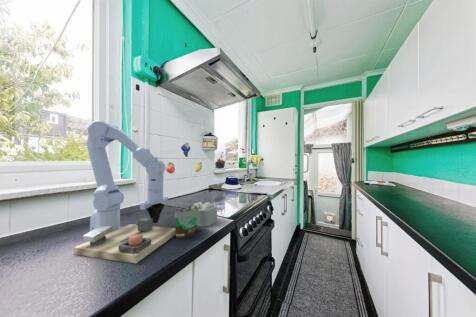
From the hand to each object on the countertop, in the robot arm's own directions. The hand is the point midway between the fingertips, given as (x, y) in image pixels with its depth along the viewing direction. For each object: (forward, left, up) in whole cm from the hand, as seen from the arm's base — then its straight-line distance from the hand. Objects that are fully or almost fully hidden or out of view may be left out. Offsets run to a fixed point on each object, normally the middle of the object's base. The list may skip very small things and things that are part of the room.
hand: (154, 222), depth 69 cm
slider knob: (0, -5, -1) cm, 5 cm away
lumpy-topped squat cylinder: (+15, +14, -3) cm, 21 cm away
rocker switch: (-7, -17, +2) cm, 19 cm away
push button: (+7, -17, -1) cm, 19 cm away
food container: (+16, 0, -3) cm, 16 cm away
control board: (0, -11, -3) cm, 12 cm away
